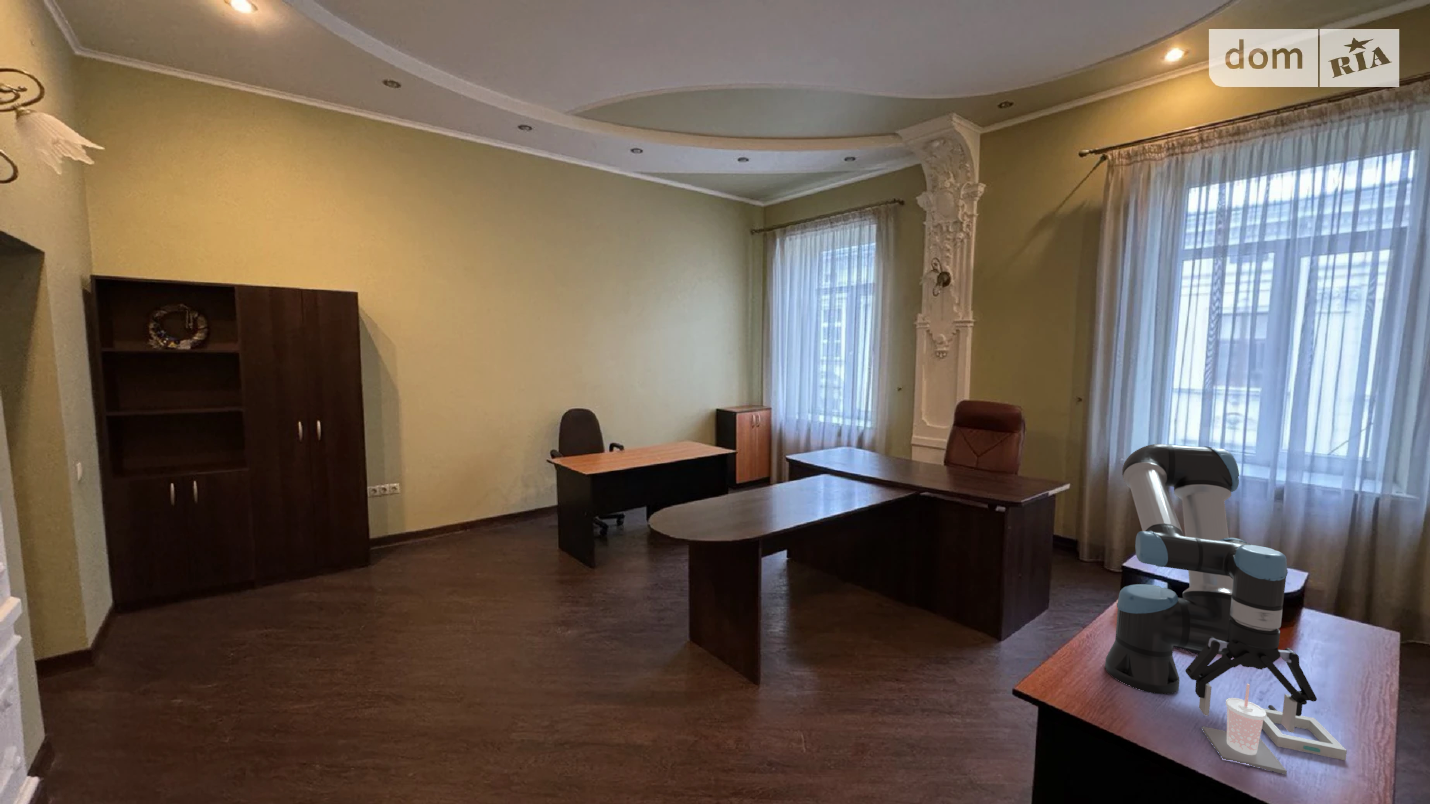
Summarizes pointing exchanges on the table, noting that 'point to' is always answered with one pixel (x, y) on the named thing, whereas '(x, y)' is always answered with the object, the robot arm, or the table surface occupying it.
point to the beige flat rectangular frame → (1322, 747)
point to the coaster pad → (1260, 759)
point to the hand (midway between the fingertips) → (1244, 719)
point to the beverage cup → (1244, 724)
